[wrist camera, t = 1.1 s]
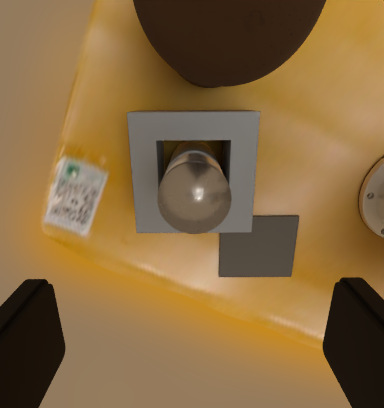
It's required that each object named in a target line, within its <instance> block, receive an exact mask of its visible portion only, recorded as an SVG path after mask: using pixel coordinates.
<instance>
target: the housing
mask: <svg viewBox="0 0 384 408" xmlns="http://www.w3.org/2000/svg"><path fill="white" fill-rule="evenodd" d="M259 119H260V111H251V110H156V111H134V112H127V120H128V132H129V144H130V156H131V169H132V181H133V193H134V206H135V218H136V230H137V233H184V232H181V231H179V230H176V229H175V228H173V227H172V226H170V225H169V224H168V223H167V222H166V221H165V220H164V218H163V217H162V215H161V213H160V211H159V208H158V203H157V195H158V190H159V186H160V184H161V182H162V179H163V178H164V175H165V163H164V140H223V158H222V173H223V175H224V177H225V178H226V180H227V182H228V184H229V187H230V190H231V195H232V201H231V207H230V210H229V213H228V215H227V216H226V218H225V219H224V220H223V222H222V223H221V224H220V225H218V226H217V227H216V228H214V229H212V230H210V231H208V232H204V233H227V232H251V231H252V217H253V203H254V189H255V175H256V161H257V147H258V133H259Z"/></svg>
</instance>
